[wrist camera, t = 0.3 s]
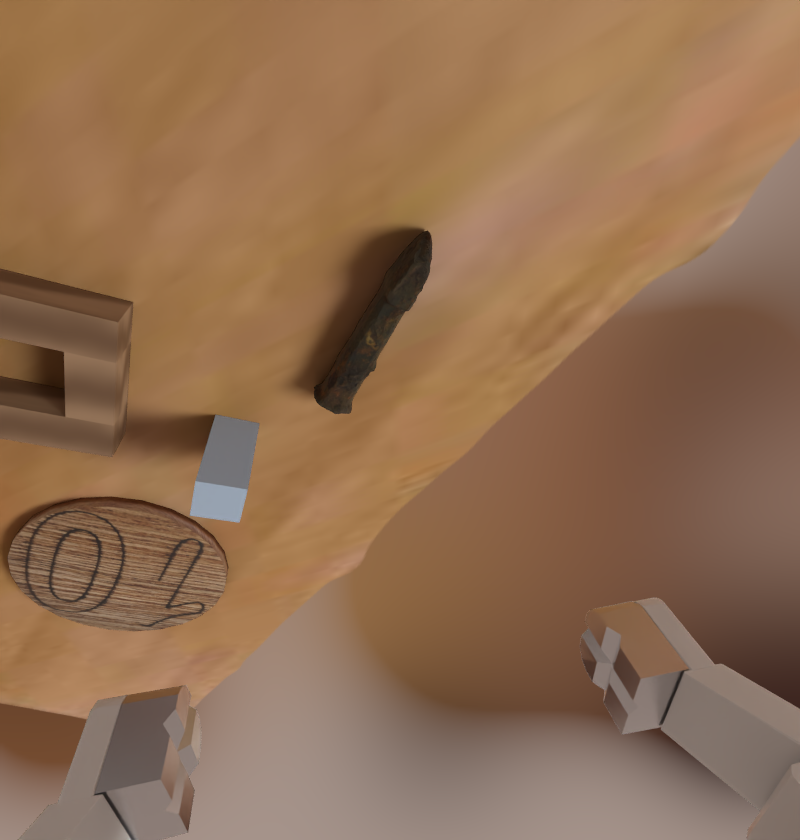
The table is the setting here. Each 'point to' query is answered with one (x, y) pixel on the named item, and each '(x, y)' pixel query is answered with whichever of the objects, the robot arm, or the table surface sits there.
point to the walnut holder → (67, 365)
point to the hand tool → (376, 326)
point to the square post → (225, 470)
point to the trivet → (118, 564)
